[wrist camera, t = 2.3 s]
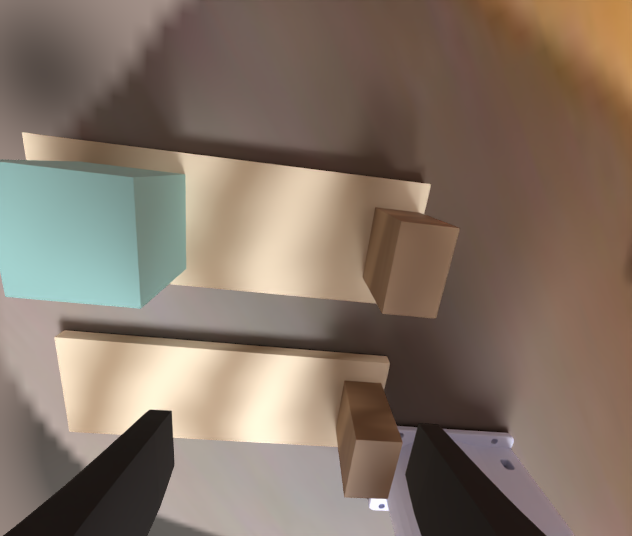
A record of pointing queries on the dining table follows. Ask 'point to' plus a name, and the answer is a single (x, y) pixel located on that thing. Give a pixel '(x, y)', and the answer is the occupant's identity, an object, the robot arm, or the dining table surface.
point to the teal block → (90, 231)
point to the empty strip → (237, 397)
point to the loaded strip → (293, 227)
